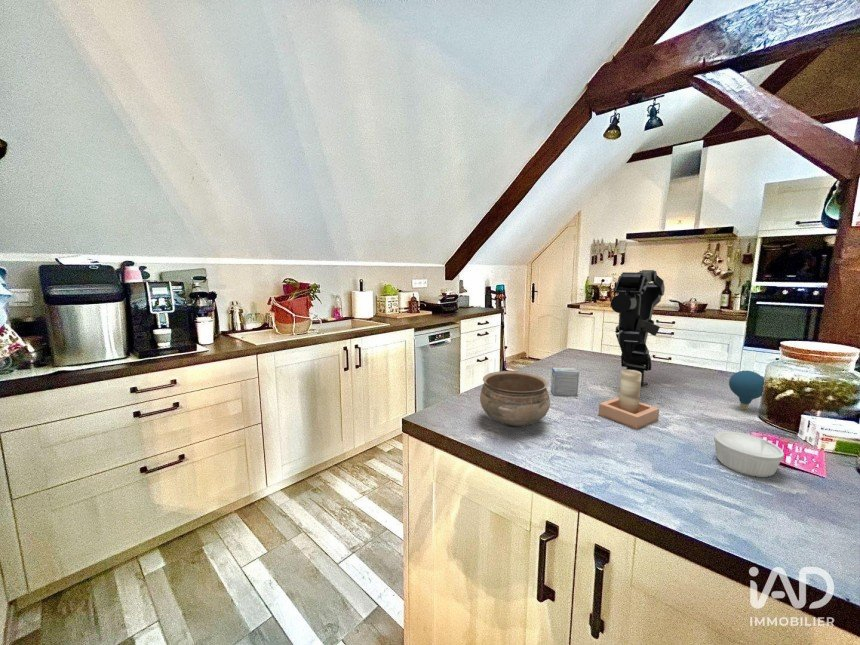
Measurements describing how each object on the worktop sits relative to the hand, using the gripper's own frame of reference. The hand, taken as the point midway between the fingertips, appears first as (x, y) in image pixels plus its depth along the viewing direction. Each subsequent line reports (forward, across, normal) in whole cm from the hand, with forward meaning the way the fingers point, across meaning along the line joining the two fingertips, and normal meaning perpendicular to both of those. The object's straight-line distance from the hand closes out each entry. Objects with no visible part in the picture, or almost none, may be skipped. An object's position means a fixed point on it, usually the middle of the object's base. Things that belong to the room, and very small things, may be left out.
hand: (626, 358), depth 115 cm
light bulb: (+13, +2, -32) cm, 35 cm away
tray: (+14, -18, 0) cm, 23 cm away
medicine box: (+13, -6, +18) cm, 23 cm away
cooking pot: (+15, -34, +30) cm, 47 cm away
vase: (+13, -18, 0) cm, 22 cm away
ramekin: (+15, -35, -21) cm, 43 cm away
